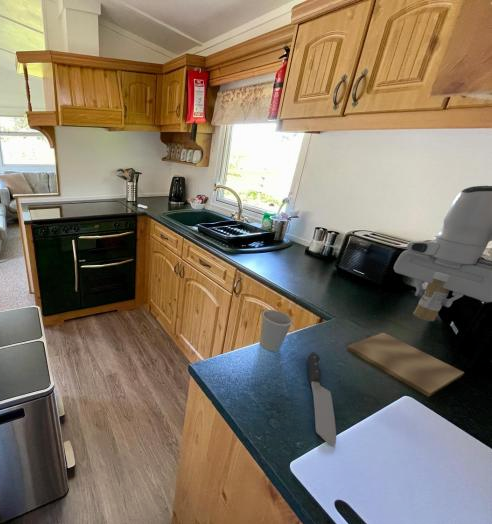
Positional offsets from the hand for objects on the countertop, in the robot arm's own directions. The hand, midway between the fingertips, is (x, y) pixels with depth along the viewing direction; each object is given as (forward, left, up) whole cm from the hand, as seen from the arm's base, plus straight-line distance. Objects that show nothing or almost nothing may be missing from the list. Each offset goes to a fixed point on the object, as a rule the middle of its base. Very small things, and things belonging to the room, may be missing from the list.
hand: (431, 300), depth 77 cm
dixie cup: (+20, +32, -20) cm, 43 cm away
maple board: (0, 0, -20) cm, 20 cm away
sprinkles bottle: (0, 0, -5) cm, 5 cm away
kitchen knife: (+1, +36, -20) cm, 41 cm away
